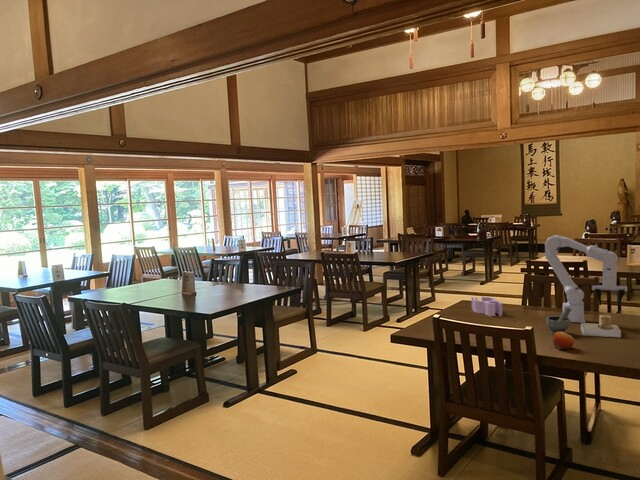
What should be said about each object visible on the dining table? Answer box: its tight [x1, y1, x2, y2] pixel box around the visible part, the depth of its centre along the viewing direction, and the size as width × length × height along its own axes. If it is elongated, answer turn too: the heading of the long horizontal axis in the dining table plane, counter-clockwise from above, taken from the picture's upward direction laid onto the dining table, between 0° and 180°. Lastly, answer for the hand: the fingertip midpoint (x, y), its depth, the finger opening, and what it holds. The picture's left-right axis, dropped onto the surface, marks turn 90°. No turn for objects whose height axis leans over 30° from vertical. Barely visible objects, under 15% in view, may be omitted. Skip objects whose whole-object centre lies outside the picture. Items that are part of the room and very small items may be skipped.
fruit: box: [552, 332, 575, 351], centre depth 204 cm, size 8×8×8 cm
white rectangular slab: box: [580, 322, 622, 339], centre depth 223 cm, size 14×10×3 cm
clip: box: [471, 295, 503, 317], centre depth 270 cm, size 20×12×7 cm, turn 13°
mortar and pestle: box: [545, 307, 571, 335], centre depth 225 cm, size 11×9×12 cm
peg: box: [598, 314, 612, 329], centre depth 222 cm, size 4×4×8 cm
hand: (609, 305), depth 236 cm, fingers open, 7 cm apart
